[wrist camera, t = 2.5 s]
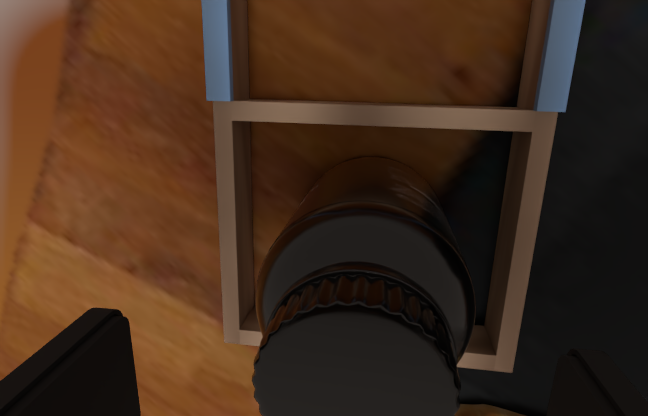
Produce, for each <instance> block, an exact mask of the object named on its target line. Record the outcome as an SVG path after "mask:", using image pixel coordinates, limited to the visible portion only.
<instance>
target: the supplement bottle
mask: <svg viewBox="0 0 648 416" xmlns="http://www.w3.org/2000/svg"><path fill="white" fill-rule="evenodd" d="M255 304H256V314H257V319H258V324H259V327H260V331H261V333H262V336H263V338H262V340H261V342H260V346H259V350H258V352H257V354H256V356H255V359H254V369H255V370H254V373H253V375H252V382H253V385H254V387H255V391H254V398H255V399H256V401H257V402H258V403H259V410H260V413H261V415H262V416H455V414H456V413H457V411H458V409H459V408H460V399H459V393H460V389H461V383H460V378H459V374H458V370H457V364H458V363H459V361H460V360H461V358H462V356H463V355H464V353H465V351H466V349H467V347H468V345H469V342H470V339H471V336H472V333H473V329H474V324H475V315H476V301H475V293H474V289H473V285H472V281H471V277H470V274H469V271H468V268H467V266H466V263H465V261H464V258H463V256H462V254H461V251H460V249H459V246H458V244H457V242H456V239H455V237H454V234H453V232H452V230H451V227H450V225H449V223H448V220H447V218H446V215H445V213H444V211H443V208H442V206H441V204H440V202H439V200H438V198H437V196H436V194H435V192H434V191H433V189H432V188H431V186H430V185H429V184H428V183H427V182H426V180H425V179H424V178H423V177H422V176H420V175H419V174H418V173H417V172H416V171H414V170H413V169H411V168H410V167H408V166H406V165H404V164H402V163H399V162H397V161H394V160H391V159H386V158H380V157H363V158H357V159H352V160H349V161H346V162H343V163H341V164H339V165H337V166H335V167H333V168H332V169H330V170H329V171H328V172H326V173H325V174H324V175H323V176H322V177H321V178H320V179H318V181H317V182H316V183H315V184H314V185H313V187H312V188H311V189H310V191H309V192H308V193H307V195H306V196H305V198H304V199H303V201H302V202H301V204H300V205H299V207H298V208H297V210H296V211H295V213H294V214H293V215H292V217H291V218H290V220H289V221H288V223H287V224H286V226H285V227H284V229H283V230H282V232H281V233H280V235H279V236H278V238H277V239H276V241H275V242H274V244H273V245H272V247H271V248H270V250H269V252H268V254H267V256H266V258H265V260H264V262H263V264H262V267H261V269H260V272H259V276H258V280H257V286H256V296H255Z"/></svg>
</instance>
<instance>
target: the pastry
mask: <svg viewBox="0 0 648 416" xmlns="http://www.w3.org/2000/svg"><path fill="white" fill-rule="evenodd" d="M455 416H526V415H522V414H518V413H515V412H512V411H509V410H506V409H503V408H499V407H495V406H491V405H486V404H477V405H472V404H460V408H459V409H458V411H457V413H456V414H455Z"/></svg>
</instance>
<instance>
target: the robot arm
mask: <svg viewBox="0 0 648 416" xmlns="http://www.w3.org/2000/svg"><path fill="white" fill-rule="evenodd" d="M0 416H140V404H139V397H138V389H137V381H136V373H135V365H134V357H133V350H132V342H131V334H130V326H129V321H128V319H127V318H126V317H123V314H122V313H121V311H119V310H117V309H106V308H91V309H89V310H88V311H87V312H85V313H84V314H83V315H82V316H80V317H79V318H78V319H77V320H75V321H74V322H73V323H72V324H71V325H69V326H68V327H67V328H66V329H64V330H63V331H62V332H61V333H59V334H58V335H57V336H56V337H54V338H53V339H52V340H51V341H49V342H48V343H47V344H46V345H45V346H43V347H42V348H41V349H40V350H38V351H37V352H36V353H35V354H33V355H32V356H31V357H30V358H28V359H27V360H26V361H25V362H23V363H22V364H21V365H20V366H19V367H17V368H16V369H15V370H14V371H12V372H11V373H10V374H9V375H7V376H6V377H5V378H4V379H2V380H1V381H0ZM546 416H648V403H647V401H646V400H645V399H644V398H643V397H642V395H641V394H640V393H639V392H638V391H637V389H636V388H635V387H634V386H633V385H632V384H631V382H630V381H629V380H628V379H627V378H626V376H625V375H624V374H623V373H622V372H621V370H620V369H619V368H618V367H617V366H616V364H615V363H614V362H613V361H612V360H611V358H610V357H609V356H608V355H607V354H606V353H605V352H602V351H595V350H583V349H571V350H570V351H569V352H568V354H567V355H562V356H560V358H559V360H558V364H557V368H556V373H555V377H554V382H553V386H552V391H551V396H550V400H549V405H548V409H547V414H546Z"/></svg>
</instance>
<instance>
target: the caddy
mask: <svg viewBox="0 0 648 416" xmlns="http://www.w3.org/2000/svg"><path fill="white" fill-rule="evenodd" d="M585 1H586V0H532V7H531V13H530V20H529V27H528V34H527V40H526V47H525V54H524V61H523V67H522V74H521V81H520V87H519V94H518V101H517V107H491V106H460V105H428V104H396V103H364V102H332V101H300V100H268V99H250V98H249V56H248V14H247V0H202V20H203V39H204V58H205V78H206V97H207V101H213V115H214V137H215V158H216V179H217V200H218V221H219V242H220V263H221V284H222V305H223V326H224V343H234V344H243V345H253V346H260V342H261V340H262V338H263V336H262V333H261V331H260V327H259V324H258V319H257V314H256V305H254V266H253V224H252V182H251V140H250V121H258V122H284V123H310V124H336V125H363V126H389V127H415V128H442V129H468V130H494V131H513V135H512V141H511V148H510V155H509V161H508V168H507V175H506V182H505V188H504V195H503V202H502V209H501V215H500V222H499V229H498V236H497V242H496V249H495V256H494V262H493V269H492V276H491V283H490V289H489V296H488V303H487V310H486V316H485V323H484V326H481V325H474V329H473V333H472V336H471V339H470V342H469V345H468V347H467V349H466V351H465V353H464V355H463V356H462V358H461V360H460V361H459V363H458V364H457V367H462V368H472V369H481V370H491V371H500V372H510V373H512V371H513V366H514V360H515V354H516V349H517V343H518V337H519V331H520V326H521V320H522V314H523V309H524V303H525V297H526V292H527V286H528V280H529V275H530V269H531V263H532V258H533V252H534V246H535V241H536V235H537V229H538V224H539V218H540V212H541V207H542V201H543V195H544V189H545V184H546V178H547V172H548V167H549V161H550V155H551V150H552V144H553V138H554V133H555V127H556V121H557V116H558V112H565V111H566V106H567V100H568V95H569V89H570V84H571V78H572V72H573V67H574V61H575V56H576V50H577V45H578V39H579V34H580V28H581V23H582V17H583V12H584V6H585Z"/></svg>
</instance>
